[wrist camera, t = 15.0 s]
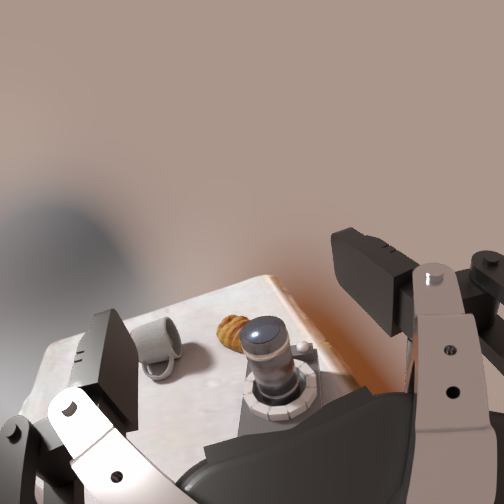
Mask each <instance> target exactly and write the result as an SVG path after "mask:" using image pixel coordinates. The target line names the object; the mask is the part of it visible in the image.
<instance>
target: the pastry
mask: <svg viewBox="0 0 504 504" xmlns="http://www.w3.org/2000/svg"><path fill="white" fill-rule="evenodd" d="M249 321H250V320H248V318H247V317H244V316H240V317H239V316H236V315H230V316H228V317H226V318H224V319H223V320H222V322H221V323H220V324H219V326H218V329H217V333H216V334H217V337H218V339H219V340H220V342H221V343H222V344H223V345H224V346H226V347H227V348H230V349H232V350H234V351H238V352H240V353H244V352H243V349H242V347H241V341H240V339H239V333H240V330H241V329H242V327H243V326H244V325H245V324H246V323H248V322H249Z"/></svg>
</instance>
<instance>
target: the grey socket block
mask: <svg viewBox="0 0 504 504" xmlns="http://www.w3.org/2000/svg"><path fill="white" fill-rule="evenodd" d="M290 347H291V351H292V355H293V359H294V363H295V367H296V371H297V373H298V376H299V381H300V389H301V390H300V394H299V396H298V398H297V399H296V400H295V401H293V402H291V403H289V404H287V405H285V406H270V405H268V404H267V403H266V402H265V401H264V400H263V398H262V395H261V394H260V392H259V390H258V387H257V383H256V380H255V378H254V375H253V372H252V370H251V367H250V365H249V362H248V364H247V371H246V379H245V381H244V387H243V401H242V408H241V415H240V422H239V429H238V436H237V437H240V436H243V435H249V434H258V433H267V432H274V431H281V430H287V429H291V428H293V427H295V426H296V425H298V424H299V423H301V422H302V421H304V420H305V419H307V418H308V417H310V416H311V415H312V414H314V413H315V412H317V411H318V410H320V409H321V408H322V407H323V404H322V390H321V378H320V368H319V361H318V354H317V349H313V345H312V343H307V342H306V341H301V342H299V343H298V344H297V345H293V346H290Z"/></svg>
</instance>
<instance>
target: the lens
mask: <svg viewBox="0 0 504 504" xmlns="http://www.w3.org/2000/svg"><path fill="white" fill-rule="evenodd" d="M239 339H240V341H241V347H242V349H243V352H244V354H245V355H246V357H247V360H248V362H249V365H250V367H251V370H252V372H253V375H254V378H255V380H256V383H257V387H258V390H259V392H260V394H261V395H262V398H263V400H264V401H265V402H266V403H267V404H268V405H270V406H285V405H287V404H289V403H291V402H293V401H295V400H296V399H297V398H298V396H299V394H300V390H301V389H300V381H299V376H298V373H297V371H296V367H295V363H294V359H293V355H292V351H291V347H290V343H289V342H290V340H289V335H288V331H287V329H286V327H285V324H284V322H283V321H282V320H281V319H279V318H277V317H274V316H262V317H258V318H255V319H253V320H251V321H249V322H248V323H246V324H245V325H244V326H243V327H242V329H241V330H240V333H239Z"/></svg>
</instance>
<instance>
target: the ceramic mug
mask: <svg viewBox="0 0 504 504" xmlns="http://www.w3.org/2000/svg"><path fill="white" fill-rule="evenodd" d="M130 336H131V337H132V339H133V341H134V343H135V345H136V348H137V351H138V356H139V362H140V363H142V368H143V371H144V373H145V374H146V375H147V376H148V377H150V378H151V379H154V380H162V379H165V378H167V377H168V376H169V375H170V374H171V372H172V370H173V366H174V359H176V358H179V357H181V355H182V344H181V339H180V336H179V333H178V330H177V329H176V326H175V325H174V323H173V321H172V320H171V319H170V318H169V317H165V318H162V319H159V320H156V321H153V322H151V323H148V324H145V325H142V326H139V327H137V328H135V329H134V330H132V331H131V333H130ZM166 360H169V364H168V367H167V369H166V371H165V372H164V373H163V374H162V375H160V376H156V375H151V374H149V372H148V370H147V364H151V363H156V362H161V361H166Z"/></svg>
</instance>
